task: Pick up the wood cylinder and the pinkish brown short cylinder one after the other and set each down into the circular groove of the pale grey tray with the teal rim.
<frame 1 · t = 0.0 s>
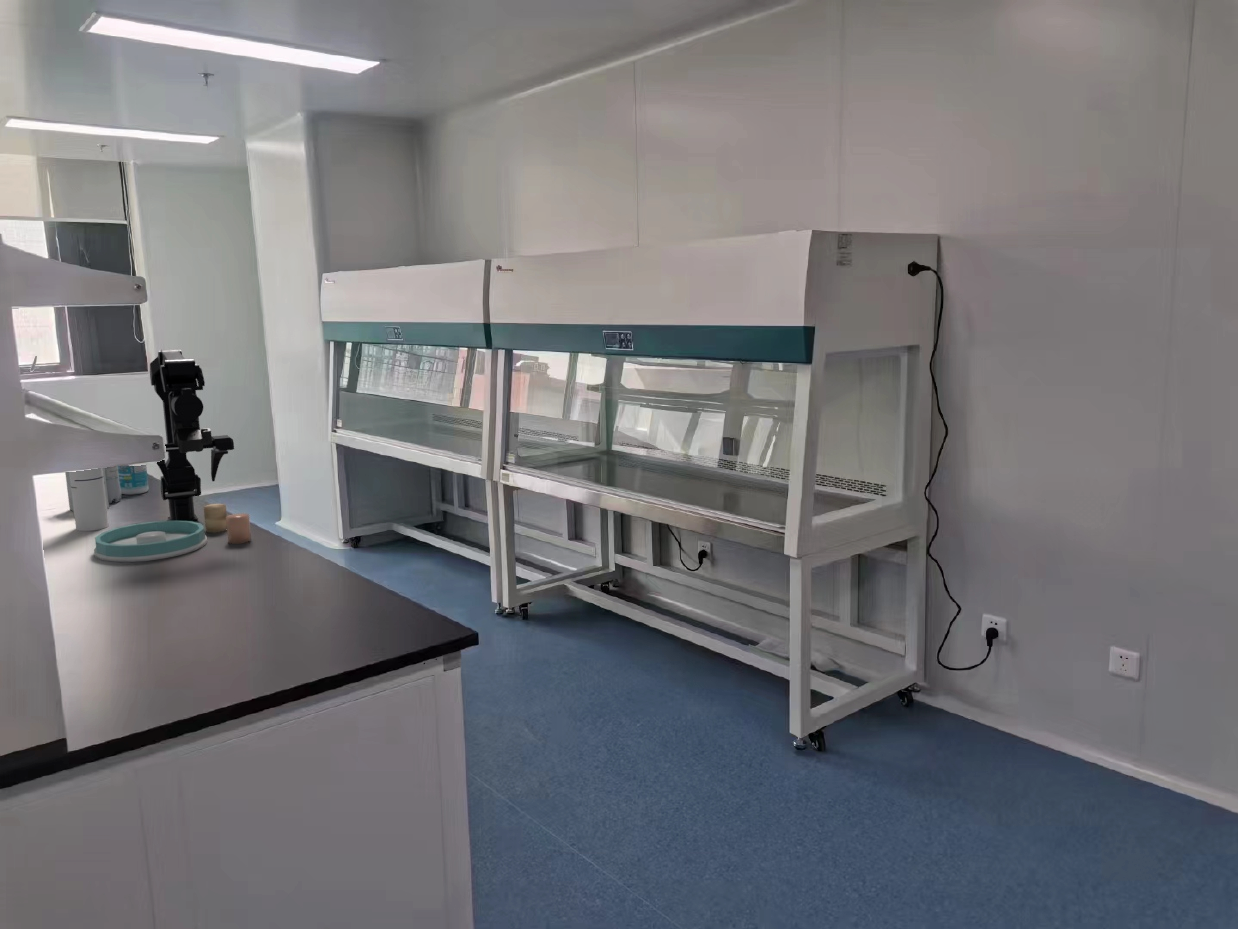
hand: (191, 483, 206), 15 cm above the table, fingers open, 9 cm apart
supplement box: (89, 510, 245), on the table
cylindrical container: (92, 528, 226), on the table
wood cylinder: (216, 529, 223), on the table
groove tray: (152, 547, 207), on the table
bottle: (109, 502, 254), on the table
pinkish brown short cylinder: (239, 540, 212), on the table
pill bottle: (135, 493, 266), on the table
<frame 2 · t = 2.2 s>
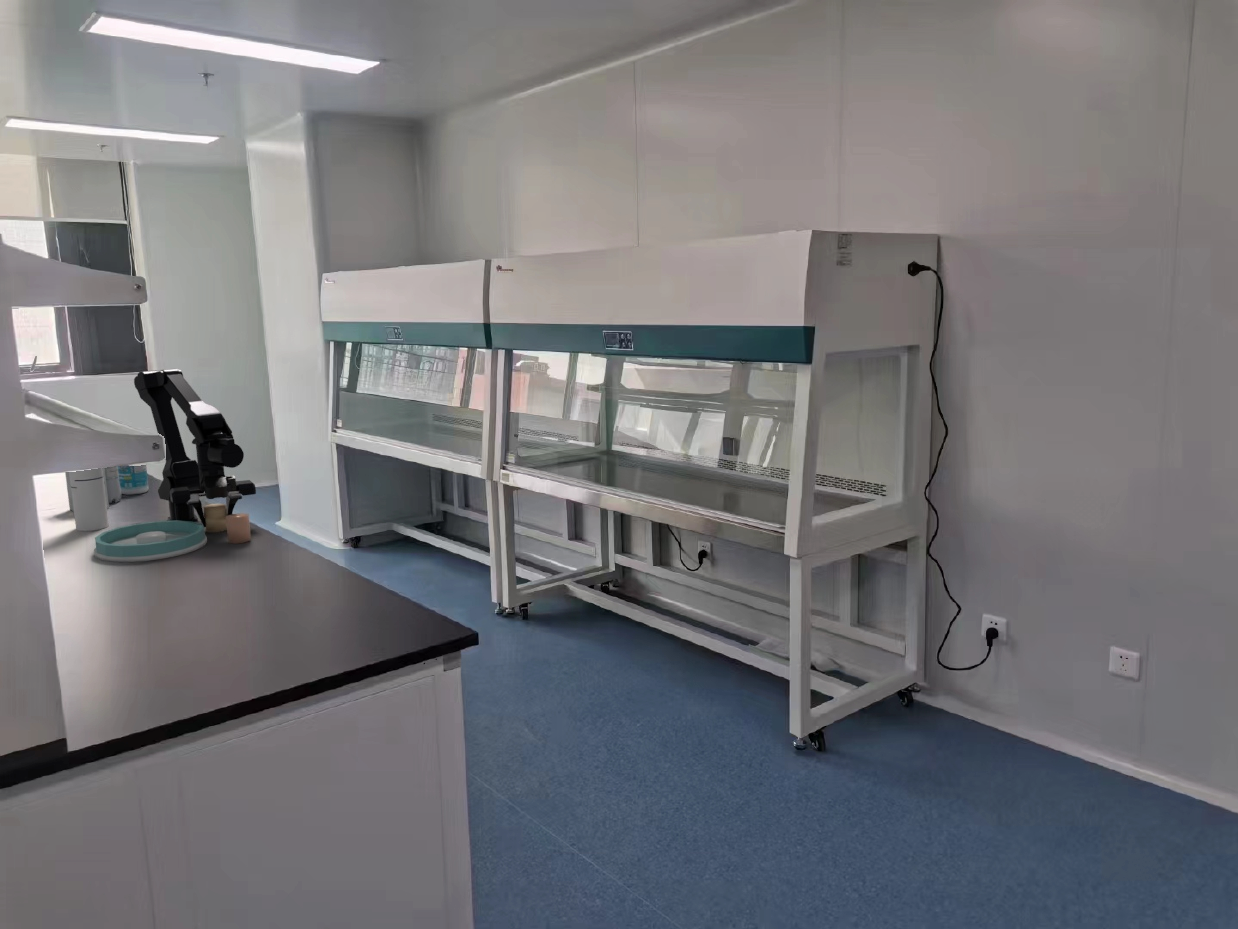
hand: (216, 525, 222), 1 cm above the table, fingers closed on wood cylinder, 5 cm apart
wood cylinder: (216, 529, 223), on the table, touching gripper
everything else where it was.
when the fingers open (3 cm above the table, at t = 6.9 s): wood cylinder stays where it is, resting on groove tray.
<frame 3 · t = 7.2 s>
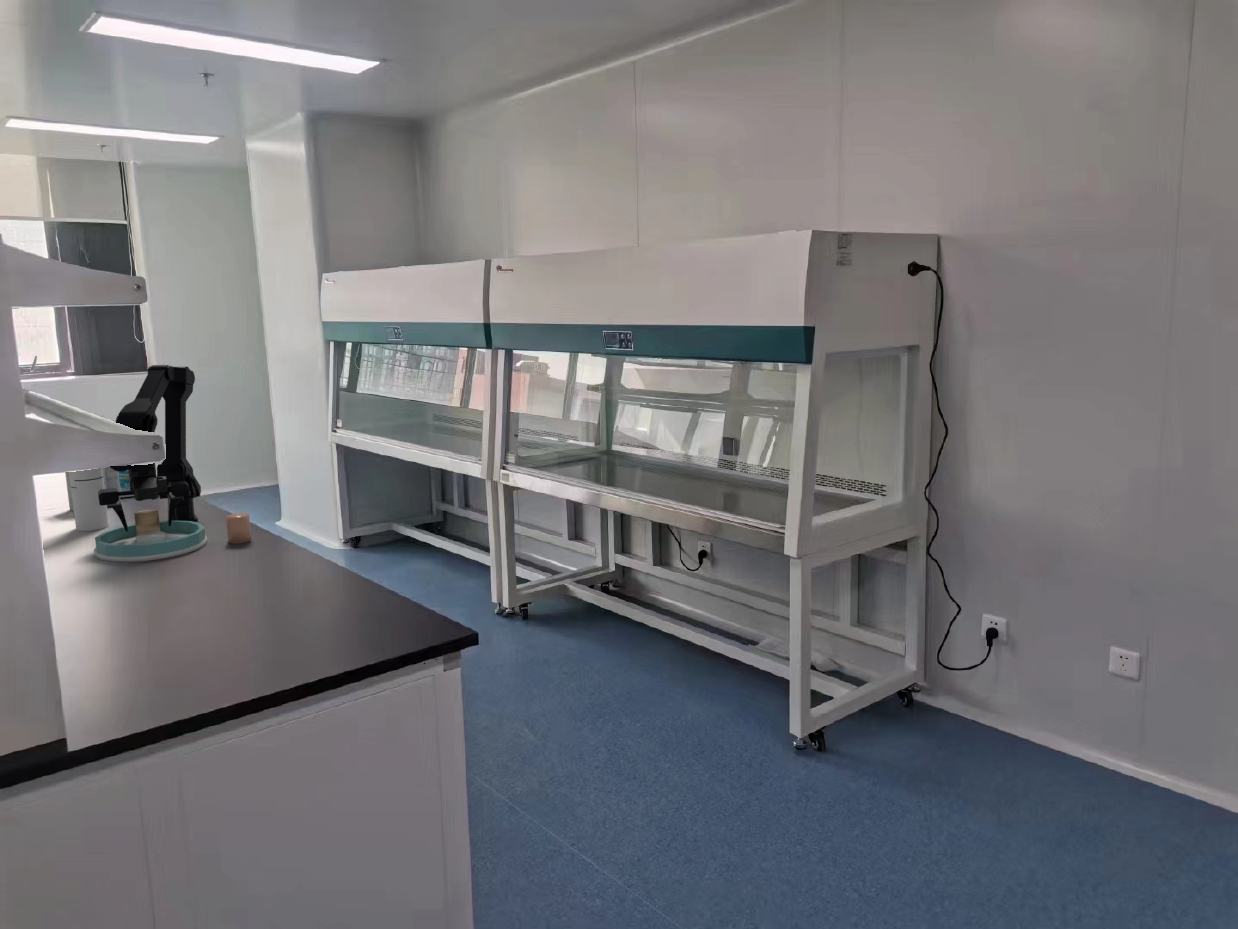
hand: (148, 528, 212), 3 cm above the table, fingers open, 9 cm apart
wood cylinder: (149, 537, 213), point 1 cm above the table, touching groove tray
everything else where it was.
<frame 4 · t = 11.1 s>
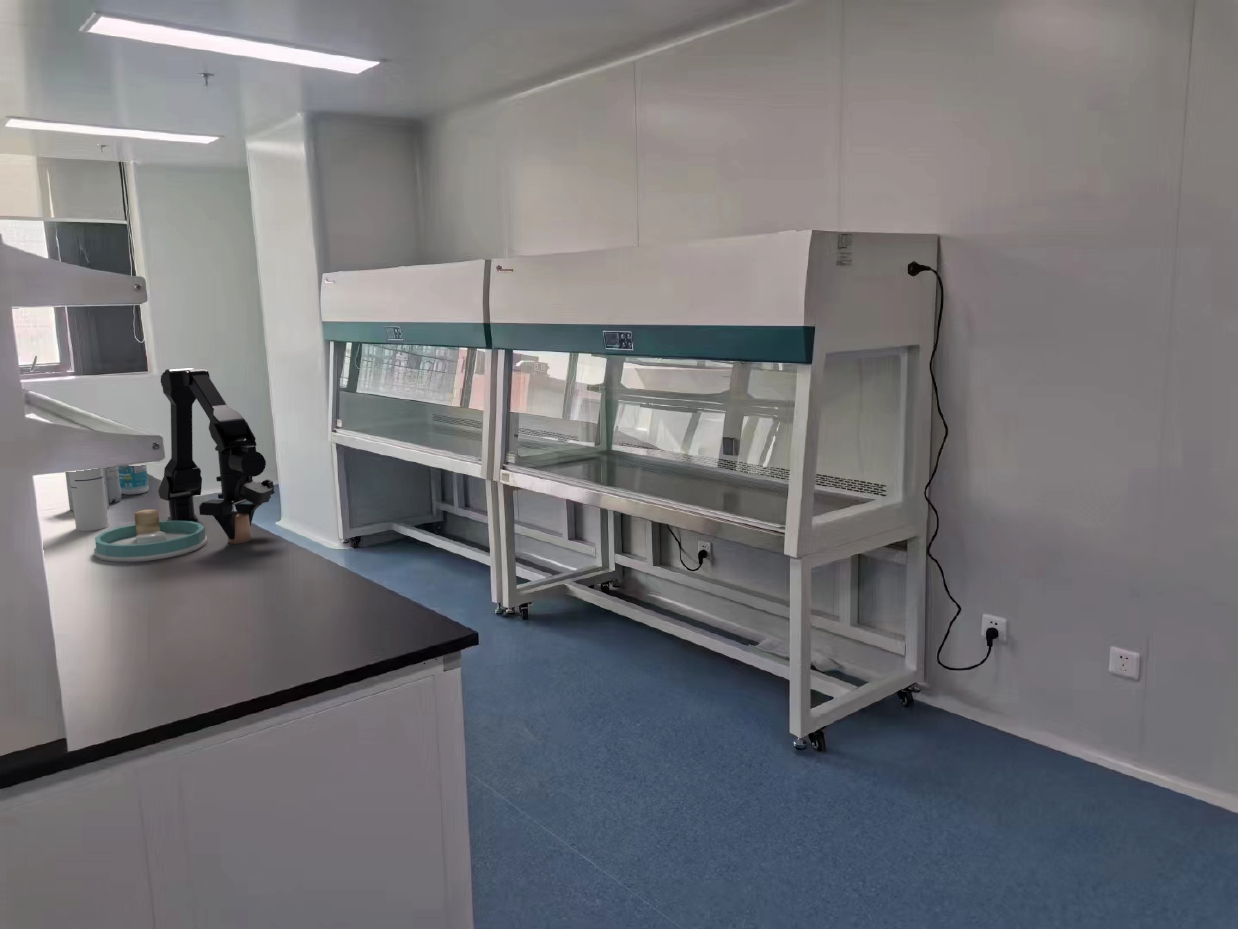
hand: (239, 536, 212), 1 cm above the table, fingers closed on pinkish brown short cylinder, 5 cm apart
pinkish brown short cylinder: (239, 540, 212), on the table, touching gripper
everything else where it was.
when the fingers open (3 cm above the table, at t = 15.4 s): pinkish brown short cylinder stays where it is, resting on groove tray.
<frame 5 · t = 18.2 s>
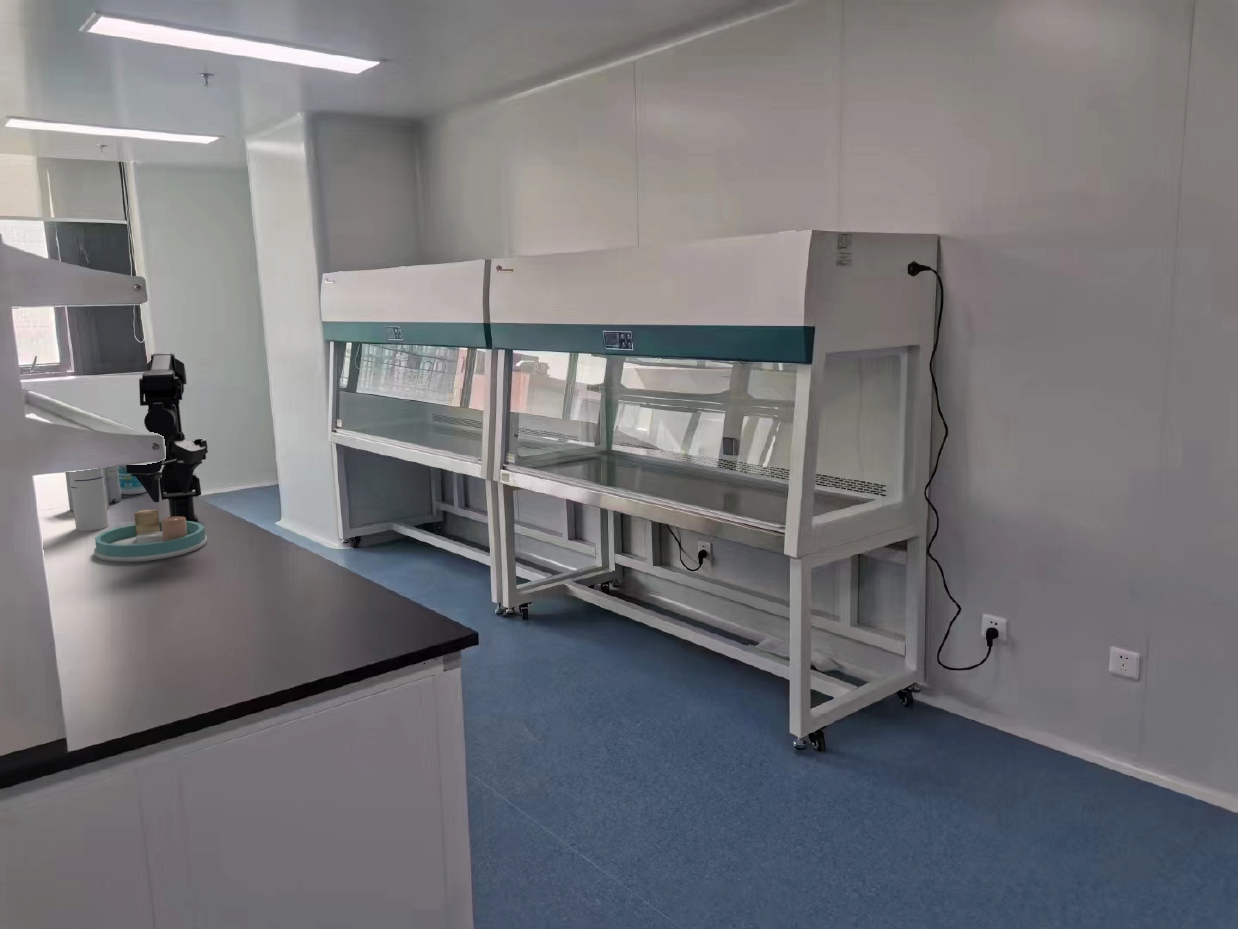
hand: (171, 497, 204), 12 cm above the table, fingers open, 9 cm apart
pinkish brown short cylinder: (176, 544, 206), point 1 cm above the table, touching groove tray
everything else where it was.
at the end: wood cylinder inside the target area on the groove tray (0.1 cm from its centre), point 1.0 cm above the groove tray's base; pinkish brown short cylinder 0.5 cm from the target spot on the groove tray, point 1.0 cm above the groove tray's base; the gripper is holding nothing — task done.
